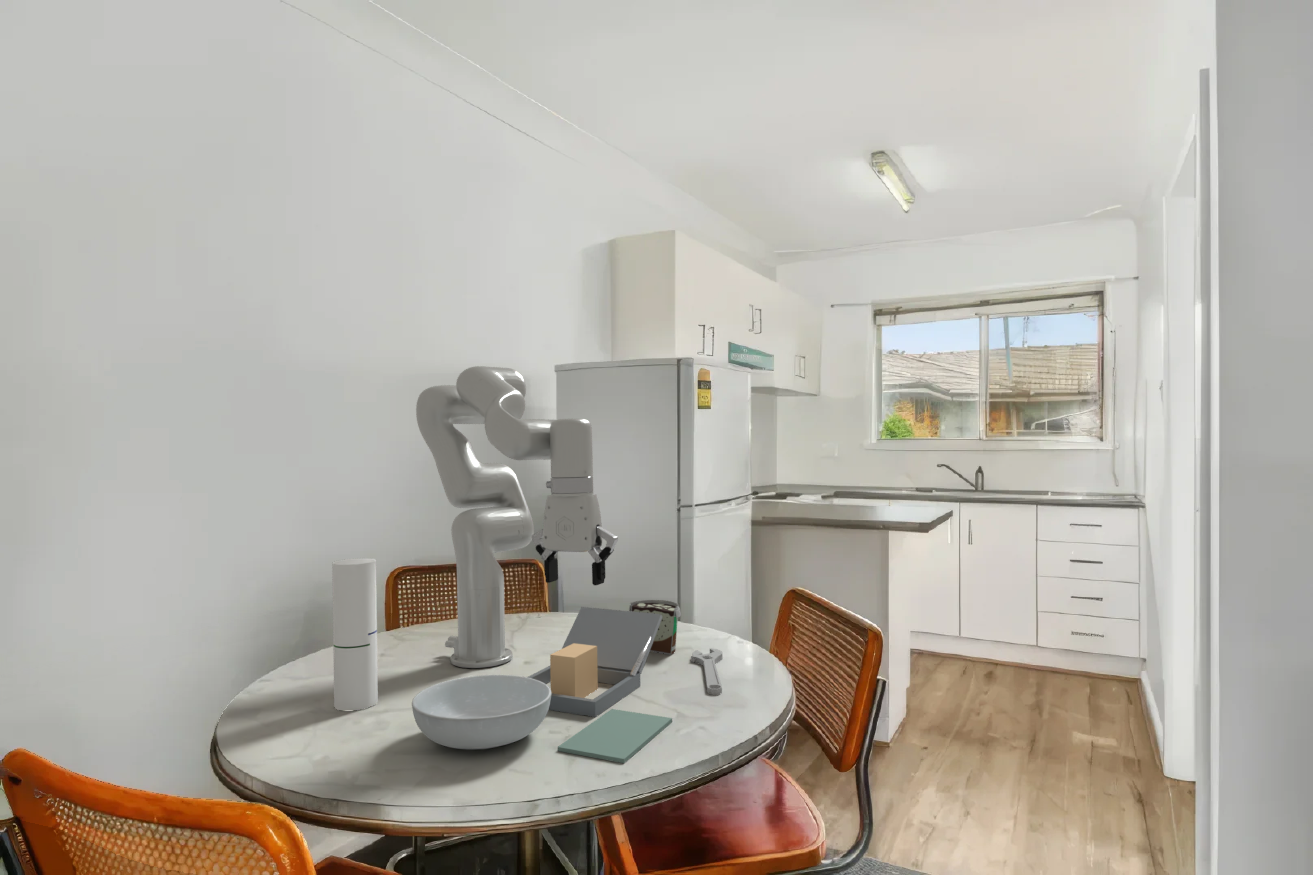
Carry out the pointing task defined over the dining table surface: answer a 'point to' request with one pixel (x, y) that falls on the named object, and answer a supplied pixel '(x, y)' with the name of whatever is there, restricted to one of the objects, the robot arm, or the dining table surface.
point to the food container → (668, 624)
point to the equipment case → (608, 655)
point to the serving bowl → (481, 710)
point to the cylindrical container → (355, 633)
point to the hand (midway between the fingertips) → (574, 582)
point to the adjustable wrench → (710, 669)
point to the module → (574, 670)
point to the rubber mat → (615, 735)
